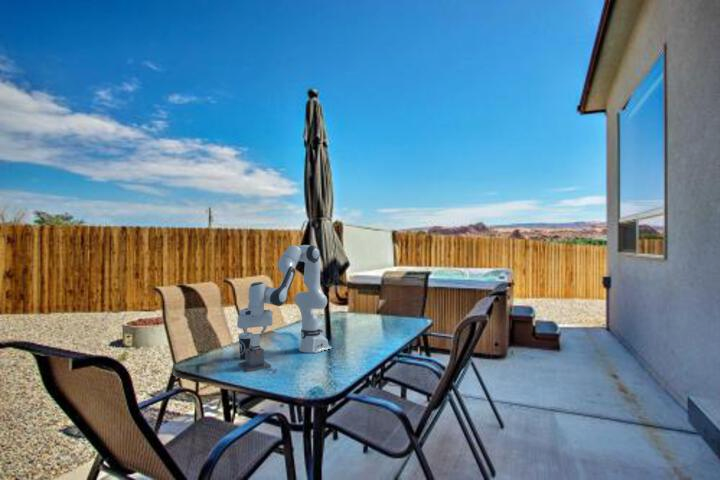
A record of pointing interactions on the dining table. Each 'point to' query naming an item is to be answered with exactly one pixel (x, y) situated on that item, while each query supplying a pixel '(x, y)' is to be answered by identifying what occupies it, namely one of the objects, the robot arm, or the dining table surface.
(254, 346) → the column
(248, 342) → the coffee cup
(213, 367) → the dining table surface
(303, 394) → the dining table surface
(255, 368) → the stand
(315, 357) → the dining table surface
